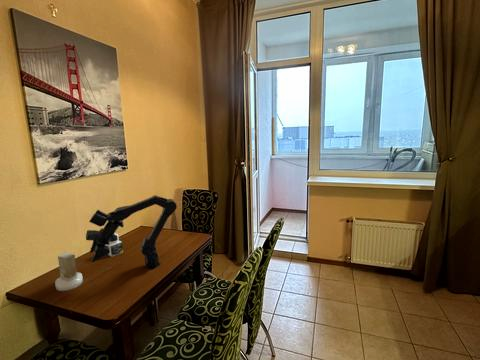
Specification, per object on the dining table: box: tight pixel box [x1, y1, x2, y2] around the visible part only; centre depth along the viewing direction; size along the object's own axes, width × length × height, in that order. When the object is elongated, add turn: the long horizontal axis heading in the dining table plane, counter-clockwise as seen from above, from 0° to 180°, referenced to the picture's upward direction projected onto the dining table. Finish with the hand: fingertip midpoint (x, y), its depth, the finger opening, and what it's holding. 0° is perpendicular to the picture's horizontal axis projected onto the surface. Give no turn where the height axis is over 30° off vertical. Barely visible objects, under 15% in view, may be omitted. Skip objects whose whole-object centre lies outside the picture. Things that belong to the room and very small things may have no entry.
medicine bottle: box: [106, 232, 124, 257], centre depth 155 cm, size 7×7×12 cm
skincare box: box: [57, 252, 77, 282], centre depth 123 cm, size 6×4×12 cm
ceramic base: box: [54, 272, 84, 292], centre depth 124 cm, size 11×11×3 cm
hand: (91, 257), depth 128 cm, fingers open, 9 cm apart
